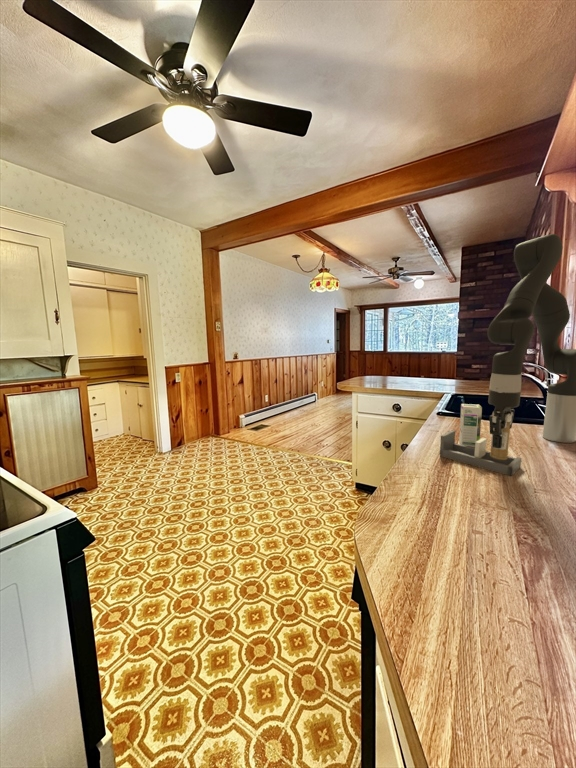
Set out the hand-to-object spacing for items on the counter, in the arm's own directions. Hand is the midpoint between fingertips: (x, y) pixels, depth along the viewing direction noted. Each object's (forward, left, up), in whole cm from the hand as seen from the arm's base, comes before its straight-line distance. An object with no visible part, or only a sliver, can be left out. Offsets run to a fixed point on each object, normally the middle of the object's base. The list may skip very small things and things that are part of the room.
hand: (499, 445), depth 93 cm
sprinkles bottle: (0, 0, -4) cm, 4 cm away
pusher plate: (0, -5, -5) cm, 7 cm away
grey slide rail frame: (0, -5, -7) cm, 9 cm away
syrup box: (-14, -13, -7) cm, 21 cm away
